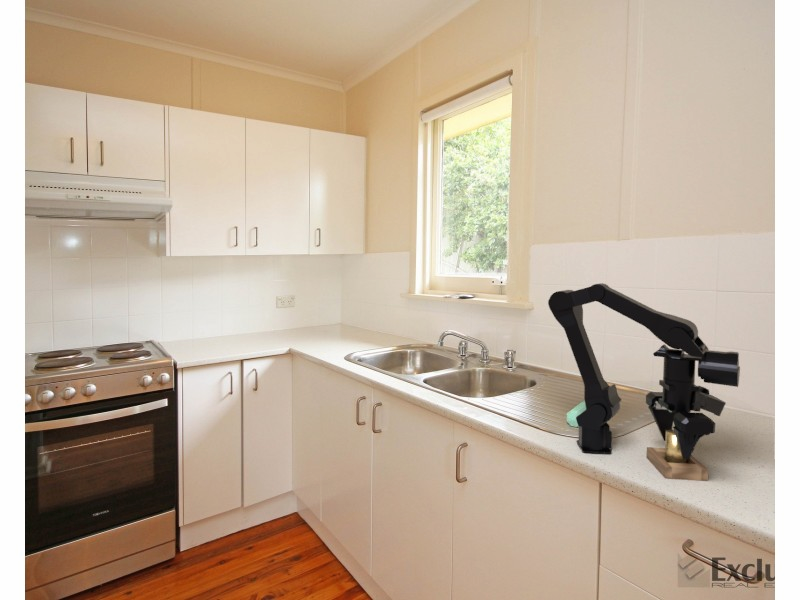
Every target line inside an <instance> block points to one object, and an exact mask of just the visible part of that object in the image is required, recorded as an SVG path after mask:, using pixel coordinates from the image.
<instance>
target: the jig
mask: <svg viewBox="0 0 800 600" xmlns="http://www.w3.org/2000/svg"><path fill="white" fill-rule="evenodd" d="M646 460H648V461H649V462H650V463H651V464H652V466H653V467H654V468H656V470H657V471H658V472H659V474H661V476H662V477H663V478H665V479H667V480H681V481H682V480H684V481H685V480H687V481H703V482H704V481H706V482H708V479H709V478H708V475H709V469H708V467H706V466H705V465H704V464H703V463H702V462H700V461H699V460H698V459H697V458H696V457H695V456H694V455H692V454H691V456H690V458H689V459H687V460H686V463H667V462H666V461H665V447H656V446H655V447H651V446H650V447H649V446H647V447H646Z"/></svg>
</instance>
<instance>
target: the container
mask: <svg viewBox="0 0 800 600" xmlns="http://www.w3.org/2000/svg"><path fill="white" fill-rule="evenodd" d="M585 410H586V405H585V400H582V401H581V402H580V403H578V404H577V405H576V406H574V407H573V408H572V409H571V410H569V411H567V413H566V422H567V423H568V424H569V426H571V427H575V428H579V426H578V423H577V420H576V417H577V416H578V415H580V414H581V413H582V412H584V411H585Z"/></svg>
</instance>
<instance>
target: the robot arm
mask: <svg viewBox="0 0 800 600" xmlns="http://www.w3.org/2000/svg"><path fill="white" fill-rule="evenodd" d="M593 302H598V303H599V304H601V305H603V306H605V307H607V308H609V309H611V310H612V311H615V312H617V313H618V314H621V315H622V316H625V317H626V318H629V319H630V320H632V321H634V322H636V323H637V324H640V325H641V326H643V327H645V328H646V329H647V330H648V331H649V332H651V333H652V334H653V335H654V336H655V337H656V338H657V339H659V340H660V341H661V342H663V343H664V344H663V345H660V347H659V348H658V350H656V351H655V352H653V356H654V357H661V358H663V368H662V369H663V370H662V371H663V372H662V373H663V374H662V375H663V376H662V379H659V382H658V383H659V384H658V385H659V386H661V387H662V391H650V392H648V393H647V394H646V395H645V404H646V405H648V406H647V407H648V409H649V411H650V413H651V416H652V417H653V419H654V422H655V424H656V426H657V428H658V431H659V433H660V435H661V437H662V440H663V441H664V442H665V440H666V430H670V429H673V430H674V432H675V435H676V439H677V442H678V445H679V448H680V451H681V454H682V457H683V458H684V459H689V458H690V456H691V455H692V453H693V451H694V450H695V447H696V445H697V443H698V441H699V440H700V438H702V437H704V436H709V435H710V434H715V433H716V422H714V421H713V419H712V418H711V417H709V416H707V415H706V414H705V413H703V412H701V410H703V411H706V412H709V413H712V414H713V415H714V416H717V417H721V414H722V413H723V410H724V409H725V405H726V403H727V402H726V401H723V400H722V399H720V398H718V397H716V396H713V395H712V394H710V389H708V388H707V387H704V386H701V385H696V384H695V381H696V380H695V379H696V378H695V377H696V362H698V365H697V376H698V378H699V377H700V380H703V382H704V383H707V384H715V385H722V386H728V387H737V388H738V387H739V385H740V384H739V383H740V376H741V375H740V374H741V373H740V371H741V366H740V359H739V357H740V356H739V355H740V354H739V352H738V351H719V350H710V348H709V347H708V346H707V345H706V343H705V342H704V341H703V340H702V339H701V338H700V336H699V330H698V327H697V325H696V324H695V323H694V322H692V321H691V320H689V319H687V318H683V317H679V316H677V315H674V314H669V313H666V312H662V311H658V310H655V309H654V308H651V307H650V306H647V305H645V304H643V303H642V302H639V301H637V300H636V299H633V298H632V297H630V296H628V295H626V294H623V292H620V291H618V290H616V289H613V288H612V287H610V286H609V285H608V284H606V283H595V284H592V285H591V286H588V287H583V288H580V289H577V290H572V289H566V290H565V289H564V290H560V291H559V290H558V291H555V292H554V293H552V294H551V295H550V297H549V299H548V302H547V305H548V307H549V310H550V311H551V313H552V315H553V317H554V319H555V321H557V322H558V324H559V325H560V326H561V327H562V328H563V330H564V331H565V334H566V337H567V341H568V344H569V346H570V349H571V352H572V355H573V357H574V360H575V362H576V365H577V368H578V372H579V375H580V377H581V380H582V383H583V386H584V395H583V397H584V398H583V399H584V400H585V405H586V410H585V411H584V412H582V413H581V414H580V415H578V416H577V417H576V420H577V423H578V426H579V427H578V439H577V440H576V443H577V445H578V447H579V449H580V451H581V452H582V453H584V452H585V453H587V454H603V453H607V455H609V454H610V455H611V454H612V450H611V449H612V443H613V442H612V441H613V439H612V438H613V431H611V429H610V428H611V427H610V424H609V423H608V422H610V420H611V419H613V418H614V417H615V416H616V414H617V413H618V412H619V411H620V408H621V404H620V403H621V402H622V398H621V397H620V396H619V394H618V391H617V390H618V389H617V386H616V384H614V383H613V384H611V385H609V384H608V382H607V381H606V380H605V379H604V377H603V374H602V371H601V368H600V365H599V364H598V360H597V358H596V355H595V353H594V349H593V347H592V345H591V342H590V338H589V336H588V333H587V331H586V328H585V325H584V321H583V320H584V310H583V305H586V304H590V303H593ZM669 347H670V348H669ZM584 400H583V401H584ZM585 453H584V454H585Z"/></svg>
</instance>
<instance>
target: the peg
mask: <svg viewBox="0 0 800 600" xmlns="http://www.w3.org/2000/svg"><path fill="white" fill-rule="evenodd" d="M664 443H665V444H664V445H665V447H664V448H665V461H666V462H667V463H686V460H687V459H684V458H683V457H682V454H681V451H680V448H679V445H678V442H677V439H676V435H675V432H674V429H673V428H672V429H670V430H666V440H665V441H664Z"/></svg>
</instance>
